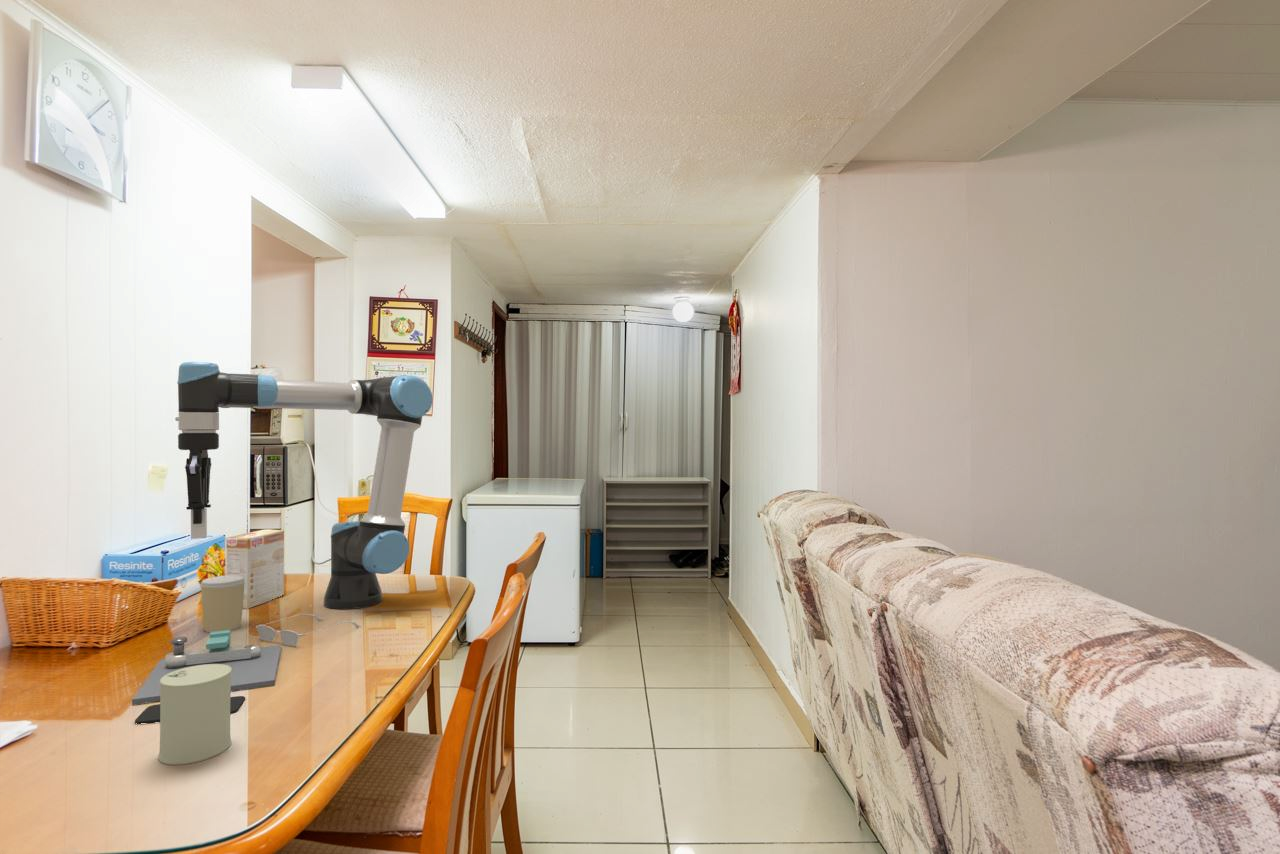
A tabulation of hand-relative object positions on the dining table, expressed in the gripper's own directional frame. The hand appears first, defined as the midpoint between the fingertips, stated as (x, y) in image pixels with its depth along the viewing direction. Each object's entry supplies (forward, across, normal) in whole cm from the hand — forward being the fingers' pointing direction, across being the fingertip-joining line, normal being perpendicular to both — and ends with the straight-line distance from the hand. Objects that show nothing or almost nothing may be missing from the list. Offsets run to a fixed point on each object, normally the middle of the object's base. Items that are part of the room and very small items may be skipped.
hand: (198, 537), depth 146 cm
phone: (+25, +38, +6) cm, 46 cm away
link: (+23, +14, +5) cm, 28 cm away
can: (+25, +54, +10) cm, 61 cm away
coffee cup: (+25, -16, +2) cm, 30 cm away
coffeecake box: (+25, -42, +6) cm, 49 cm away
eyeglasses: (+26, -4, +22) cm, 34 cm away
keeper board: (+25, +19, +6) cm, 32 cm away
